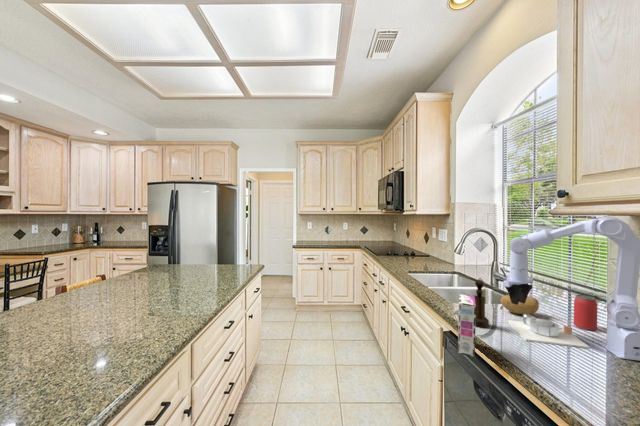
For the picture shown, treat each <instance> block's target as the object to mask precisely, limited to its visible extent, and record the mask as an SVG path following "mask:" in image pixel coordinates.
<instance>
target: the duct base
mask: <svg viewBox="0 0 640 426" xmlns="http://www.w3.org/2000/svg"><path fill="white" fill-rule="evenodd" d="M551 321H552V320H548V319H544V318H537V319H536V323H537V324H539V325H542V326H547V327H553V322H554V321H552V322H551ZM507 323H508V324H509V325H510V326H511V327H512V328H513V329H514V330H515V331H516V332H517V333H518V334H519V335H520V336H521V338H522V340H524V341H526V342H532V343H540V344H541V343H542V344H549V345H556V344H557V345H558V346H564V347H565V346H566V347H574V346H575V348H584V349H590V346H589V345H588V344H586V342H583V341H582V340H581V339H580V338H578V337H577V336H575V335H574V334H573V327H572V326H569V325H563V326H562V325H559V336H556V337H550V336H545V335H541V334H538V333H535V332H533V331H532V330H530V325H528V324H526V323H524V322H523V321H520V320H519V321H518V320H509V319H507Z"/></svg>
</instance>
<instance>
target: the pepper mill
mask: <svg viewBox="0 0 640 426" xmlns="http://www.w3.org/2000/svg"><path fill="white" fill-rule="evenodd" d="M484 283H485V282H484V281H483V280H482V279H476V280H475V282H474V284H475V287H476V290H475V293H476V295H474V297H475V304H476V328H489V326H490V321H489V318H487V317H486V297H485V296H483V293H484V291H483V287H484V285H485V284H484Z"/></svg>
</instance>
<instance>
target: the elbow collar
mask: <svg viewBox="0 0 640 426" xmlns="http://www.w3.org/2000/svg"><path fill="white" fill-rule="evenodd" d="M536 319H538V318H537V317H535V316H533V315H532V314H526V313H524V314H523V315H522V322H524V323H526V324H528V325H530V330H532V331H533V332H535V333H538V334H541V335H545V336H550V337H556V336H559V326H560V325H559V324H558V323H555V322H554V321H552V320H550V321H551V322H553V327H547V326H542V325H539V324H537V323H536Z"/></svg>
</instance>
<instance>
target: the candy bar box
mask: <svg viewBox="0 0 640 426" xmlns="http://www.w3.org/2000/svg"><path fill="white" fill-rule="evenodd" d="M474 296H475V295H474ZM474 296H473V295H468V294H467V295H466V294H461V293H460V294H459V296H458V298H459V299H458V329H457V330H458V331H457V333H458V335H457V337H458V340H457V343H458V344H457V346H458V348H457V351H458V352H457V353H458V354H461V355H465V356H468V357H472V358H474V357H475V356H476V355H475V353H476V352H475V351H476V330H477V329H476V328H477V327H476V304H475V297H474Z"/></svg>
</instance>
